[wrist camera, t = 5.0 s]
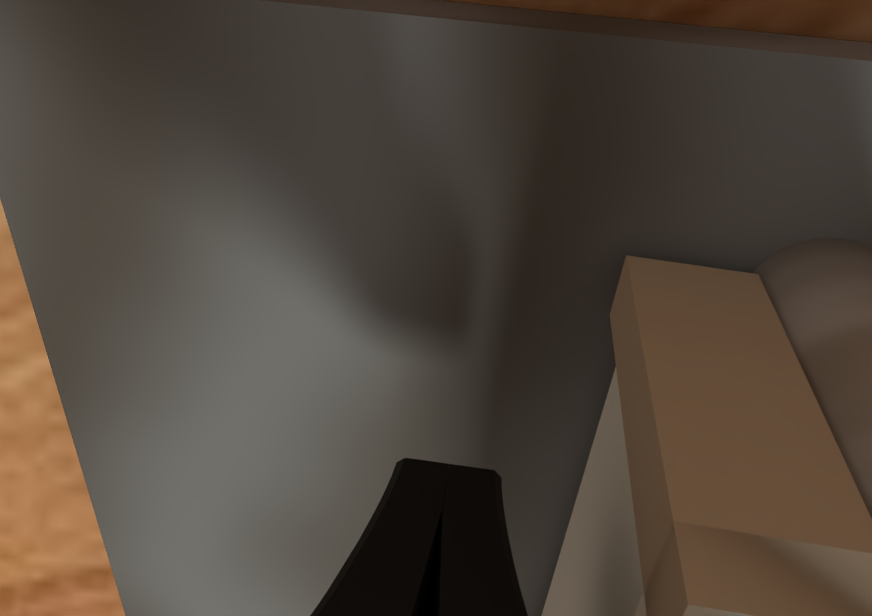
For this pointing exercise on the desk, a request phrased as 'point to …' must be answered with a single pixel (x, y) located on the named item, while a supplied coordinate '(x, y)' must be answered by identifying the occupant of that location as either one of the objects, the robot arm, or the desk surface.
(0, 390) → the desk surface
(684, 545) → the gate leaf
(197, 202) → the gate base
